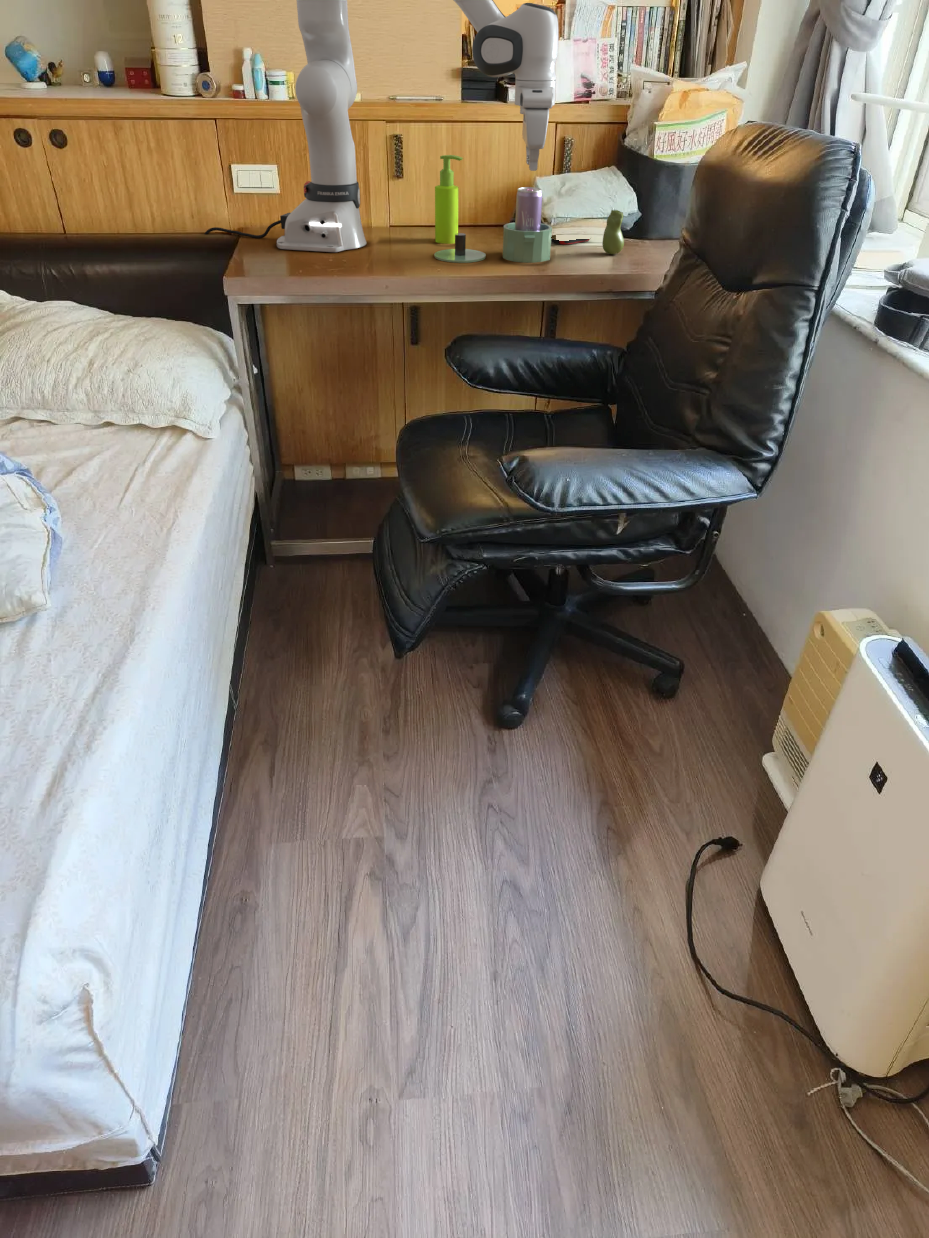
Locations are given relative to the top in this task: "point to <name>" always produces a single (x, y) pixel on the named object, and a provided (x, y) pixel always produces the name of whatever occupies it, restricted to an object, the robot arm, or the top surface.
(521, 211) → the beverage can
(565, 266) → the top surface
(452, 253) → the pot lid
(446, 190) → the soap dispenser
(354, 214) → the robot arm
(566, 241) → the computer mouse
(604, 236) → the pear
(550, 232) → the pot
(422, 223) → the top surface
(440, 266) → the top surface
